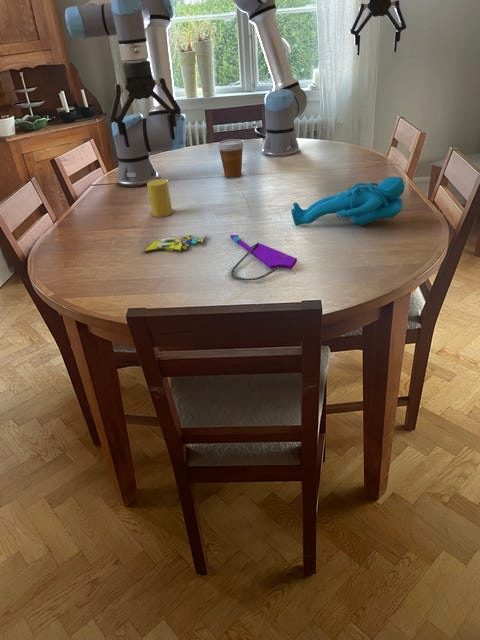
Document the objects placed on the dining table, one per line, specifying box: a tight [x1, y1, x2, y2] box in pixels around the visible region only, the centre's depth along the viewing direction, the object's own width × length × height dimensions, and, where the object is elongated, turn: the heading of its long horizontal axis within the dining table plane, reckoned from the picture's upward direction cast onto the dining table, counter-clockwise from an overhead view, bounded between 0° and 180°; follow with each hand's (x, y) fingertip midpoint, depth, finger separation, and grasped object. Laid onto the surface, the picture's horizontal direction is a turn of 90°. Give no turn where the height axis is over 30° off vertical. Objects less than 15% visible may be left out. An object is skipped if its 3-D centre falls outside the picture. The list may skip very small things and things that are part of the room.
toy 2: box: [290, 176, 405, 227], centre depth 131 cm, size 17×11×30 cm
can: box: [146, 178, 173, 218], centre depth 150 cm, size 6×6×10 cm
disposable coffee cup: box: [217, 138, 245, 178], centre depth 178 cm, size 10×10×12 cm
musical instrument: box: [229, 234, 298, 281], centre depth 118 cm, size 24×2×20 cm
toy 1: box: [144, 234, 207, 254], centre depth 130 cm, size 10×1×15 cm
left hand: (150, 142), depth 141 cm, fingers open, 13 cm apart
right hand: (376, 53), depth 183 cm, fingers open, 13 cm apart
